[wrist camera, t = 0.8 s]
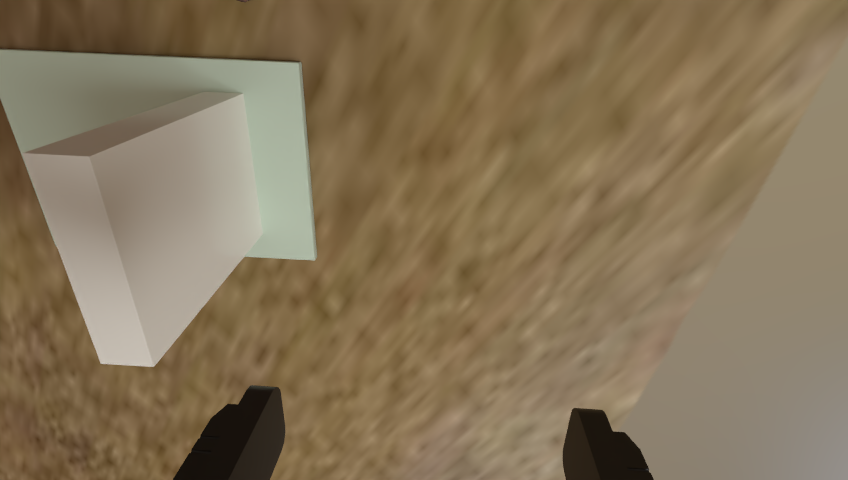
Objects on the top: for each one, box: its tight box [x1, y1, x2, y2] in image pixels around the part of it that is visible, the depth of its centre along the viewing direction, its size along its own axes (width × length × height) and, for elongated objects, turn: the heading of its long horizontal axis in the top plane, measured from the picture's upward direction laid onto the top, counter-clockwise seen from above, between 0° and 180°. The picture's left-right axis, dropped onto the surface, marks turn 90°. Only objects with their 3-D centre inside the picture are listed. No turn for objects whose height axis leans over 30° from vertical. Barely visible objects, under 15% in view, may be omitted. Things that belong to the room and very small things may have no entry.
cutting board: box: [0, 49, 317, 260], centre depth 32 cm, size 20×14×1 cm
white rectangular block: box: [22, 92, 263, 367], centre depth 25 cm, size 3×10×14 cm, turn 178°
